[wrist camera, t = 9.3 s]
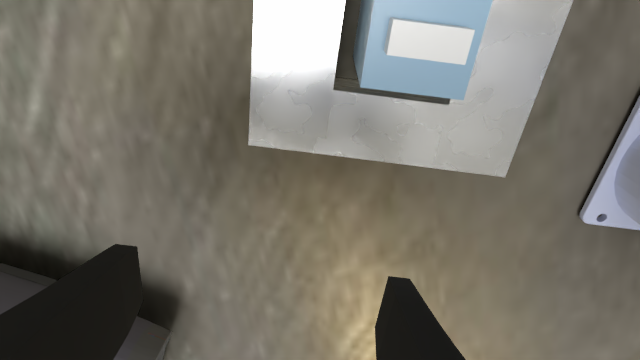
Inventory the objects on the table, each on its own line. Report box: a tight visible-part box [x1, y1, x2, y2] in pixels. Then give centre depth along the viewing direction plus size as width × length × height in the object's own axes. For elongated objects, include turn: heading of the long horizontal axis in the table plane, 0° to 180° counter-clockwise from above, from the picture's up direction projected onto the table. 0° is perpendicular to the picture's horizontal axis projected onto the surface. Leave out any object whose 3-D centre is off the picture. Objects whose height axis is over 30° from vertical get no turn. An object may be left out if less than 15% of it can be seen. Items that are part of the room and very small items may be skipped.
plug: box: [353, 0, 493, 100], centre depth 14 cm, size 4×4×7 cm
